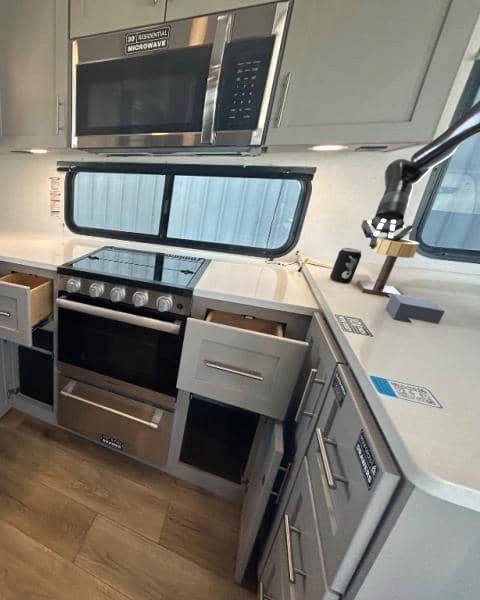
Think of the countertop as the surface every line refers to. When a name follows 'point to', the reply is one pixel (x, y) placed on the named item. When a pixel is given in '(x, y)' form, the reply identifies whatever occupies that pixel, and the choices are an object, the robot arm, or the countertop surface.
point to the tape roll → (396, 247)
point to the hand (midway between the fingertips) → (378, 248)
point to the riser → (414, 309)
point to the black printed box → (345, 265)
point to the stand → (381, 280)
